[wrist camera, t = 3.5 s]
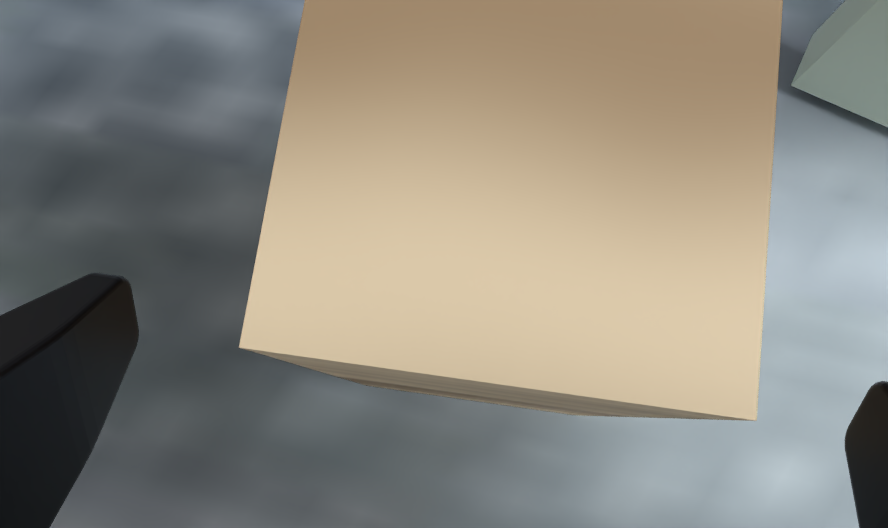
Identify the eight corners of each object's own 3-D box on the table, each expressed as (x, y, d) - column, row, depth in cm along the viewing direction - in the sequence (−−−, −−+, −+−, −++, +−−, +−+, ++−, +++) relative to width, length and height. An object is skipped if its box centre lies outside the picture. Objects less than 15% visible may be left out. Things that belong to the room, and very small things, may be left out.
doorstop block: (575, 415, 18) (756, 420, 7) (366, 385, 18) (239, 347, 7) (595, 231, 19) (783, -11, 8) (395, 204, 19) (317, -67, 8)
